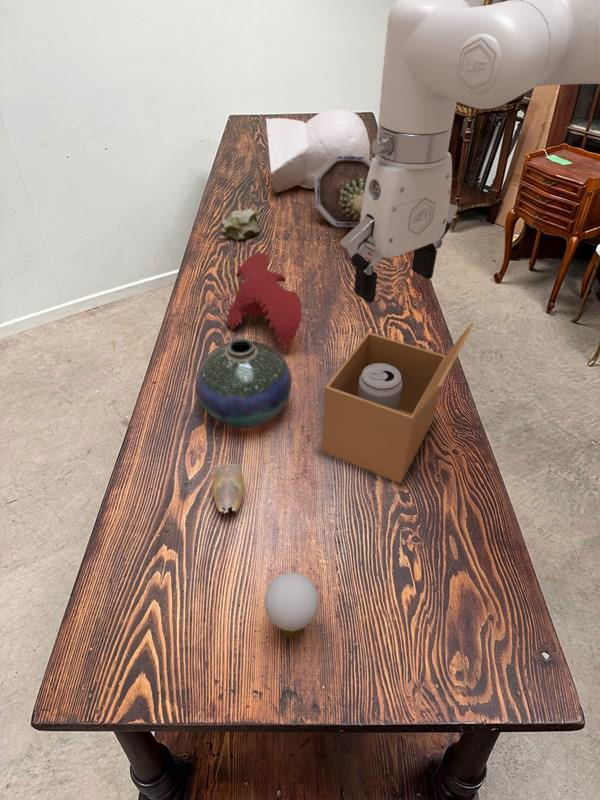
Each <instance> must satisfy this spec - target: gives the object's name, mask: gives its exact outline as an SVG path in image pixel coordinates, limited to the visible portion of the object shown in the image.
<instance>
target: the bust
mask: <svg viewBox="0 0 600 800" xmlns="http://www.w3.org/2000/svg"><path fill="white" fill-rule="evenodd" d="M265 121H266V133H267V144H268V145H267V146H268V155H269V156H268V157H269V165H270V166H269V167H270V174H271V175H270V176H271V180H272V185H273V189H274V193H275V194H278V193H280V192H283V191H285V190H283V189H286V190H289V189H292V188H294V187H296V186H298V187H301V188H303V189H310V190H314V189H313V188H315V176H316V175H317V174H318V172H319V171H320V170H321V169H322V168H323V167H324V166H325V165H326V164H327V163H328V162H329V161H330V160H331V159H332V158H333V157H334V156H336V155H344V154H345V155H363V156H365V157H366V158H367V159H369V160H370V155H371V154H370V153H371V150H370V149H371V146H370V145H371V143H370V140H369V135H368V131H367V128H366V126H365V124H364V121H363V120H362V118H361V117H360V116H359V115H358V114H357V113H356V112H355V111H353V110H350V109H347V108H337V107H336V108H335V107H334V108H330V109H327V110H324V111H321V112H319V113H318V114H316V115H314V116H312V117H311V118H310V119H308V120H307V121H306V122H304V121H303V120H298V119H294V118H292V119H290V118H284V117H283V118H282V117H276V118H275V117H273V118H268V117H266V118H265ZM299 183H300V184H301V185H304V186H307V187H312V188H307V187H304V186H301V185H298V184H299ZM288 188H289V189H288ZM278 190H282V191H278ZM275 191H276V192H275Z"/></svg>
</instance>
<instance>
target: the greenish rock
mask: <svg viewBox="0 0 600 800" xmlns="http://www.w3.org/2000/svg"><path fill="white" fill-rule="evenodd" d="M262 213H263V211H262V210H261V211H260V212H259V213H257V212H256V209H255V210H254V208H253V207H250V208H249V209H245V210H240V209H237V210H233V211H232V212H229V214H228V217H227V218H225V219H222V220H221V224H222V227H223V228H224V231H225V232H226V236H227V237H229V238H230V239H232V240H234V241H240V240H244V241H245V240H248V239H251V238H252V237H253V236H255V235H256V234H257V233H258V232H259V228H260V225H259V224H260V223H259V221H258V219H257V216H259V215H261V214H262Z"/></svg>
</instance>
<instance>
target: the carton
mask: <svg viewBox="0 0 600 800" xmlns="http://www.w3.org/2000/svg"><path fill="white" fill-rule="evenodd" d="M445 357H446V354H442V353H439V352H437V351H433V350H429V349H425V348H422V347H420V346H416V345H413V344H409V343H406V342H403V341H399V340H397V339H393V338H390V337H386V336H383V335H380V334H378V333H377V334H376V333H373V332H370V331H366V333H365V334H364V336H362V338H361V340H360V341H359V342H358V344H357V345H356V346H355V347H354V349H353V350H352V351H351V352H350V354H349V355H348V356H347V358H346V359H345V360H344V361H343V363H342V364H341V366H340V367H339V368H338V369H337V371H336V372H335V373H334V375H333V376H332V377H331V379H330V380H329V381H328V383H326V385H325V386H324V391H323V392H324V393H323V394H324V395H323V396H324V397H323V415H322V416H323V420H322V440H321V441H322V443H321V453H323V454H325V455H328V456H331V457H333V458H335V459H338V460H340V461H343V462H346V463H348V464H351V465H353V466H356V467H358V468H360V469H363V470H366V471H367V472H371V473H373V474H375V475H378V476H380V477H383V478H385V479H388V480H390V481H392V482H395V483H398V484H402V482H403V480H404V478H405V476H406V474H407V472H408V470H409V468H410V467H411V464H412V462H413V461H414V459H415V457H416V455H417V452H418V451H419V449H420V447H421V446H422V443H423V441H424V439H425V437H426V435H427V433H428V432H429V429H430V427H431V425H432V424H433V421H434V418H435V415H436V411H437V410H436V409H437V405H438V402H439V398H440V393H441V389H442V386H441V387H440V388H439V389H438V391H437V392H436V393H435V394H434V395H433V397H432V398H431V399H430V400H429V401H428V402H427V404H426V405H425V406H424V407H423V408H422V410H421V411H420V412H419V413H418V414H417V416H415V415H414V413H415V411H416V409H417V407H418V406H419V404H420V402H421V400H422V398H423V397H424V395H425V393H426V391H427V389H428V388H429V386H430V384H431V382H432V380H433V379H434V377H435V375H436V373H437V371H438V370H439V368H440V366H441V364H442V362H443V361H444V359H445ZM376 363H384V364H388V365H391V366H393V367H395V368H396V369H397V370H398V371H399V372H400V374H401V379H402V383H403V384H402V391H401V397H400V403H399V409H398V411H397V410H394V409H391V408H388V407H386V406H383V405H380V404H377V403H374V402H371V401H369V400H366V399H363V398H360V397H357V395H358V384H359V378H360V376H361V374H362V372H363V370H364V369H365V368H366V367H367V366H369V365H371V364H376Z"/></svg>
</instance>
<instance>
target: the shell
mask: <svg viewBox="0 0 600 800" xmlns="http://www.w3.org/2000/svg"><path fill="white" fill-rule="evenodd" d="M212 493H213V499H214V504H215V506H216V510H217V511H218V513H220V514H222V515H223V514H224V515H225V514H226V513H229V509H230V508H231V511H232V512H234V513H237V512H238V511H239V510H240V507H241V504H242V500H243V495H244V478H243V473H242V470H241V468H240V464H234V463H230V462H225V463H222V464H220V465H217V466H215V470H214V473H213V478H212Z"/></svg>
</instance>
